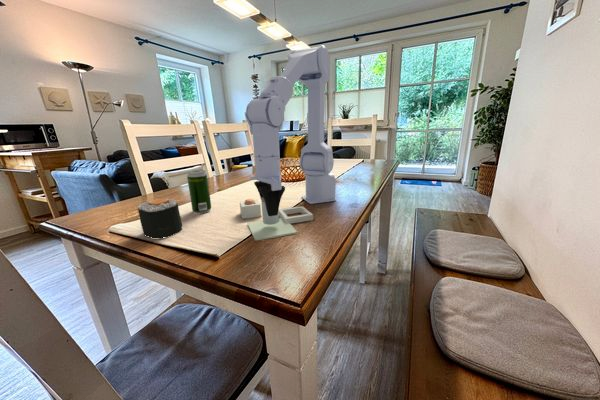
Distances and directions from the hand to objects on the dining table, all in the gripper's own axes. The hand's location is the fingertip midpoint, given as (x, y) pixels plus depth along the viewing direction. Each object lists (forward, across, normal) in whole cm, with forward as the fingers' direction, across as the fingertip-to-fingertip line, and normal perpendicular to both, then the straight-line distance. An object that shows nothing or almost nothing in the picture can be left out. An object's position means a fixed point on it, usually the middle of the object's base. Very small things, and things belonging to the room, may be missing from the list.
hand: (270, 212), depth 60 cm
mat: (+4, 0, 0) cm, 4 cm away
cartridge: (+2, 0, 0) cm, 2 cm away
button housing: (+4, -12, -3) cm, 13 cm away
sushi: (+5, -9, -25) cm, 27 cm away
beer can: (+5, -21, -16) cm, 27 cm away
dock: (+4, -5, +8) cm, 10 cm away
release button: (+3, -12, -3) cm, 13 cm away
